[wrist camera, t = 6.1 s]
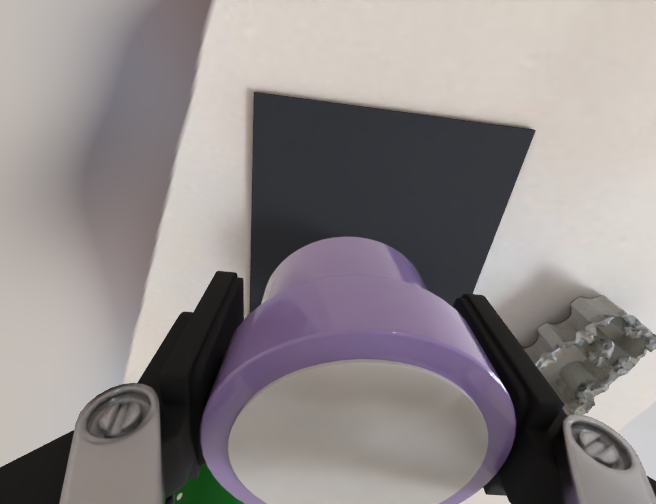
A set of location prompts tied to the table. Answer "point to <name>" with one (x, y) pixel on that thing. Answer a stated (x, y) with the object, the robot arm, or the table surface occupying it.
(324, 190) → the placemat
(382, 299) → the purple short cylinder
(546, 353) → the egg carton
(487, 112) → the table surface
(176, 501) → the milk carton
